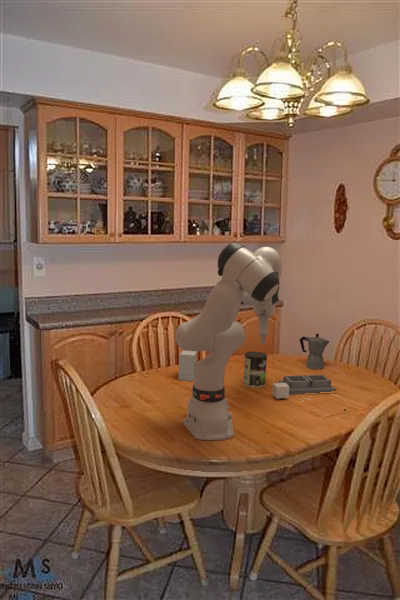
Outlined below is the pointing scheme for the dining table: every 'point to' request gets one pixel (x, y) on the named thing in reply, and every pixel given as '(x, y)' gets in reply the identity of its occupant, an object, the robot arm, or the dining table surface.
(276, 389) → the plug
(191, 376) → the supplement box
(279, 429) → the dining table surface
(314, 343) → the coffeepot
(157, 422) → the dining table surface
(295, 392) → the socket board
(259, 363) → the coffee can
